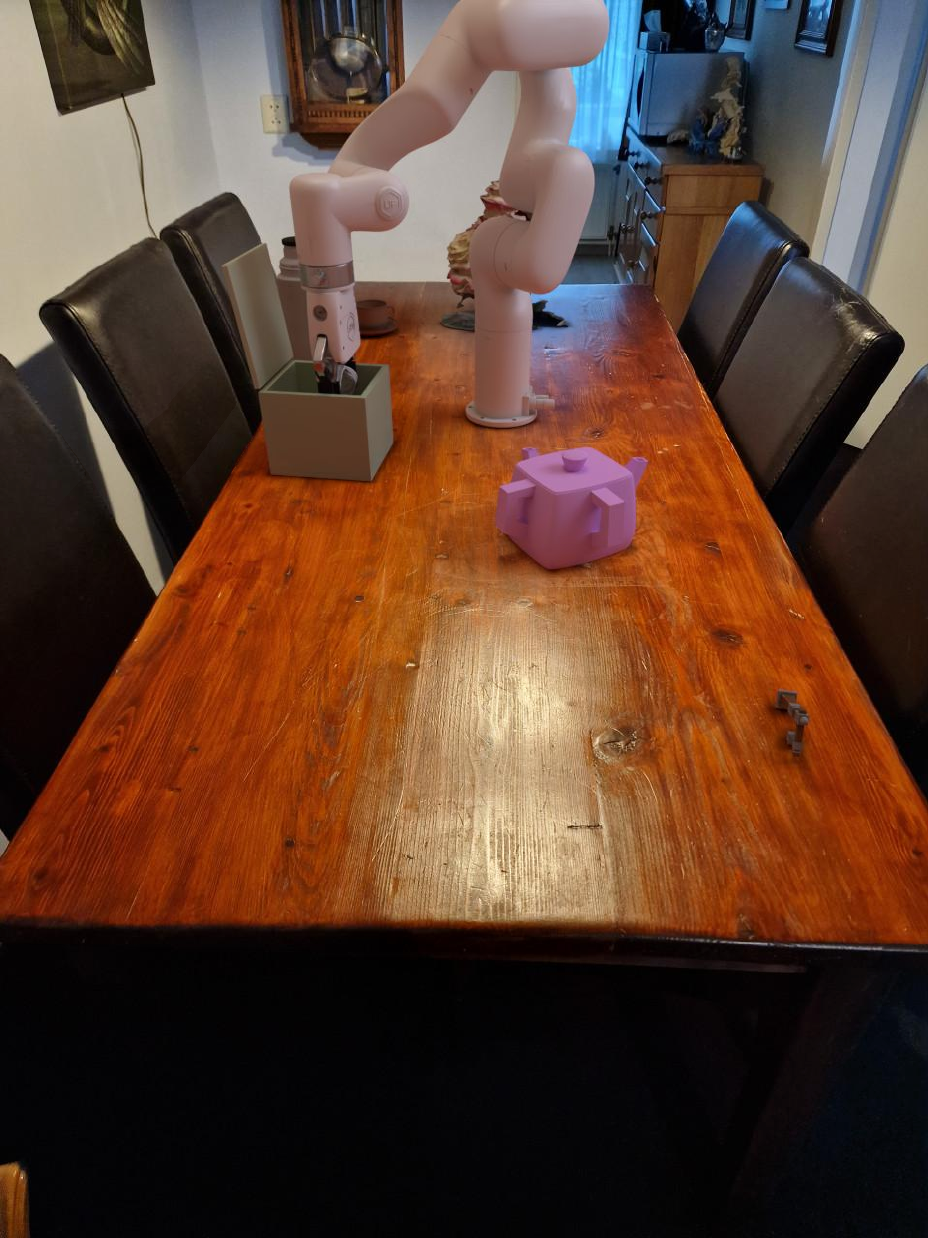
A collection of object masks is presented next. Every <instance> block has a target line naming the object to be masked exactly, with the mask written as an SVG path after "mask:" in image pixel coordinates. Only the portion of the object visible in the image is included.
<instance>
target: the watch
mask: <svg viewBox="0 0 928 1238" xmlns="http://www.w3.org/2000/svg"><path fill="white" fill-rule="evenodd" d="M328 368H329V370H330V372H332V366H329V367H328ZM337 381H340V390H341V395H353V394H354V390H355V386H356V382H357V374H356V372H355V371H354V370H353V369H352V368H350V367H348V366H345V365H338V372H337Z"/></svg>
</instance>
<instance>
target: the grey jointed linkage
mask: <svg viewBox="0 0 928 1238" xmlns="http://www.w3.org/2000/svg"><path fill="white" fill-rule="evenodd" d="M797 698H798V691H793V690H787V689H786V690H785V689H777V694H776V701H775V706H774V707H775V708H777V709H785V710H787V714H788V715H789V717H790V718H793V721H794V722H795V731H793V730H787V731H786V734H785V735H786V736H785V741H787V742H786V743H787V745H788V746H789V745H790V746H791V748H792V749H791V750H792V751H791V756H792V757H793V758H801V753H802V750H803V745H804V742H803V738H804V733H805V732H804V731H805V726H809V722H810V714H808V713H807V711H808V710H807V709H806V708H805V707H802V706H801V705H800V703H797Z"/></svg>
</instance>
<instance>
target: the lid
mask: <svg viewBox="0 0 928 1238" xmlns="http://www.w3.org/2000/svg"><path fill="white" fill-rule="evenodd" d="M221 270H222V274H223V277H224V281H225V285H226V288H227V292H228V296H229V299H230V303H231V307H232V310H233V314H234V317H235V322H236V326H237V328H238V333H239V336H240V341H241V343H242V348H243V351H244V354H245V358H246V362H247V365H248V369H249V373H250V376H251V377H250V378H251V380H252V384H253V388H254V390H261V389H262V388H263V387H264V386H265V385H266V384H267V383H268V382H269V381H270V380H271V379H273V378H274V377H275V376H276V375H277V374H278V373H279V372H280V371H281V370H282V369H283V368H284V367H285V366H286V365H287V364H288V361H289V360H290V359H291V358H292V357H293V352H292V348H291V344H290V340H289V335H288V331H287V327H286V323H285V319H284V314H283V310H282V306H281V302H280V298H279V290H278V284H277V281H276V277H275V273H274V268H273V265H272V261H271V257H270V253H269V249H268V244H267V242H264V243H260V244H258V245H256V246H254V247H253V248H251V249H249V250H247V251H246V252H244V253H242V254H240V255H238V256H237V257H235V258H233V259H231V260H230V261H227V262H226V263H224V264H223V265H221Z"/></svg>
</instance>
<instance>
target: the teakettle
mask: <svg viewBox="0 0 928 1238" xmlns="http://www.w3.org/2000/svg"><path fill="white" fill-rule="evenodd" d="M520 451H521V457H522V460H521V461H519V462H517V463H516V464H515V465H514V468H513V471H512V474H511V478H510V482H509V483H506V484H502V485H500V486H499V487H498V493H497V494H498V495H497V502H496V510H495V518H494V519H495V520H494V526H495V527H496V528H497V529H498V530H499V531H500V532H501V533H503V534H505V535H508V537H509V539H510V540H512V542H513V543H514V544H516V545H517V546H518V547H519V549H520V550H522V551H523V552H524V553H525V554H526V555H528V556H529V557H530V558H531V559H533V560H534V561H536V563H537V564H539V565H540V566H541V567H543V568H545V569H547V570H558V569H559V570H560V569H563V568H569V567H574V566H579V565H584V564H587V563H591V562H595V561H598V560H600V559H604V558H607V557H609V556H613V555H615V554H617V553H620V552H622V551H624V550H626V549H628V548H629V546H630V545H631V544H632V540H633V538H634V536H635V533H636V525H637V495H636V489H637V488H638V486H639V483H640V481H641V480H642V477H643V474H644V472H645V470H646V468H647V466H648V464H649V460H647V459H646V458H644V457H642V456H641V457H640V456H639V457H638V456H637V457H630V458H631V459H630V460H629V461H628V462H627V463H626V465H624V466H623V465H622V464H620V463H619V462H617V461H616V460H614V459H612V458H611V457H609V456H608V455H606V454H604V453H602V452H601V451H599V450H597V449H595V448H593V447H591V446H582V447H574V448H568V449H565V450H559V451H554V452H549V453H546V454H542V455H540V453H539V452H538V448H536V447H531V446H527V447H522V448H521V449H520Z"/></svg>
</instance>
